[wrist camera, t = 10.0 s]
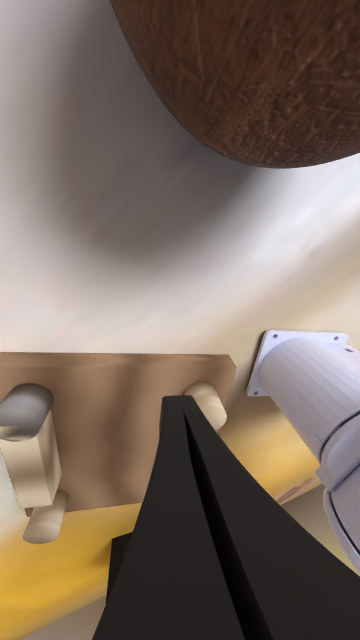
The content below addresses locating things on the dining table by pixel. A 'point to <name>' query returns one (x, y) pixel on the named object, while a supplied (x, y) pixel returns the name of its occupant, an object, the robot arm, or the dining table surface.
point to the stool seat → (110, 420)
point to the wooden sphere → (254, 74)
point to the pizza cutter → (30, 444)
